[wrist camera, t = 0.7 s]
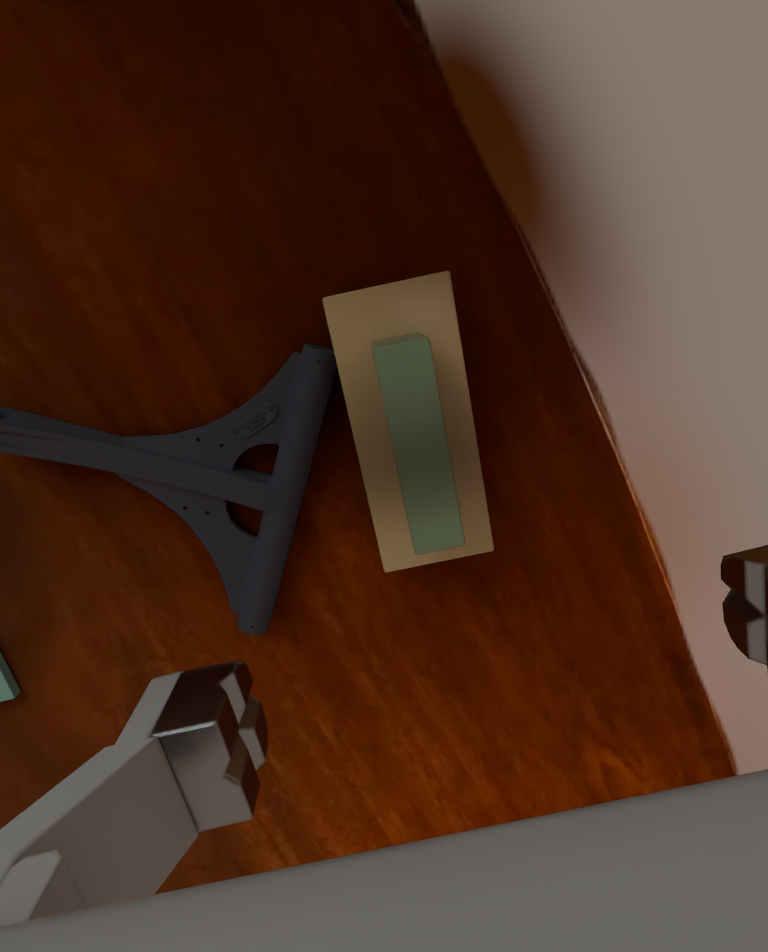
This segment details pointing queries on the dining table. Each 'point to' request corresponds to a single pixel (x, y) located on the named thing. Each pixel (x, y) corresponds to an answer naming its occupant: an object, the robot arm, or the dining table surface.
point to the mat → (7, 682)
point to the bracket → (213, 472)
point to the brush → (411, 419)
